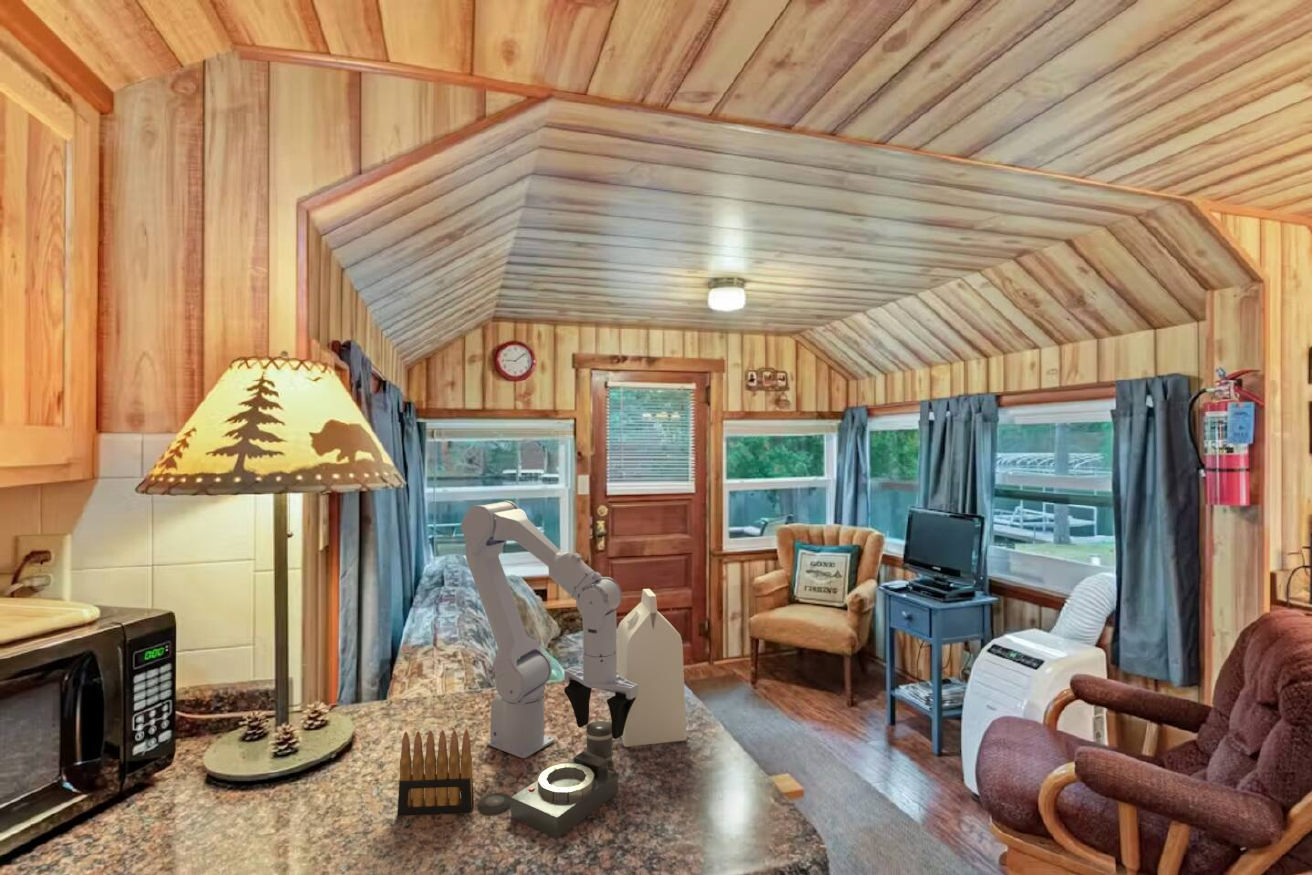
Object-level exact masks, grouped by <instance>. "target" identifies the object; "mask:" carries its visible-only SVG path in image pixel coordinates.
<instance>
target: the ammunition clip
mask: <svg viewBox="0 0 1312 875" xmlns="http://www.w3.org/2000/svg"><path fill="white" fill-rule="evenodd" d="M461 742H462V746H461V747H462V748H461V756H460V748H459V746H460V745H459V738H458V733H457V731H456V730H455V729H454V730H453V731H452V734H451V737H450V748H449V756H448V748H447V737H446V733H445V731H444V730H441V731H440V734H439V738H438V747H437V756H436V749H435V745H436V743H435V737H434V734H433V732H432V730H429V731H428V734H427V738H426V745H425V746H426V747H425V759H424V753H423V752H424V751H423V740H422V734H421V732H420V731H417V732H416V734H415V737H414V742H413V743H414V744H413V754H412V755H411V741H410V737H409V733H408V732H407V731H405V732H404V733H403V736H402V741H401V753H400V761H399V781H398V797H397V798H398V799H397V800H398V801H397V817H409V816H410V817H411V816H412V817H413V816H433V815H435V816H436V815H453V814H454V815H456V814H458V815H459V814H471V813H473V812H472V811H473V809H474V806H475V800H474V781H473V780H474V779H473V758H472V756H473V755H472V748H471V737H470V733H469V730H468V729H465V731H464V733H463V736H462V741H461ZM412 756H413V757H412Z"/></svg>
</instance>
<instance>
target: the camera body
mask: <svg viewBox="0 0 1312 875" xmlns="http://www.w3.org/2000/svg"><path fill="white" fill-rule="evenodd" d="M618 793H619V773H617V772H614V771H612V770H609V766H608V760H607V759H604V758H601V757H598V756H596V755H593V754H590V753H587V751H585V750H584V751H581V752H580V753H578V754H577V755H576V756H573V758H571V759H570V760H568V761H567V762H563V763H559V764H556V765H552V766H550V767H548V768H546V769H544V770H543V771H541V773H540V775H539V776H538V779H537V780H536V781H534V782H533V783H532V784H530V785H528V786H527V787H525V788H523V789H522V790H520V791H518V792H517V793H516V794H513V795H512V796H510V797H511V806H510V818H511V819H513V820H515V821H518V822H520V823H521V824H524V825H526V826H528V827H530V828H533V829H535V830H536V831H539V832H541V833H543V834H545V835H548V836H550V837H552V838H553V839H556V840H558V839H560V837H562V836H563V835H564V834H566V833H567V832H569V831H570V830H571V829H572V828H574V827H575V826H576V825H578V824H579V823H580V822H581V821H583V820H584V819H585V818H587V817H588V816H590V815H591V814H592V813H593V812H595V811H596V810H597V809H599V808H600V807H602V806H603V805H604V804H605V803H607V802H608V801H609V800H611V799H612V798H614V797H615V796H616V795H617V794H618Z"/></svg>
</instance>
